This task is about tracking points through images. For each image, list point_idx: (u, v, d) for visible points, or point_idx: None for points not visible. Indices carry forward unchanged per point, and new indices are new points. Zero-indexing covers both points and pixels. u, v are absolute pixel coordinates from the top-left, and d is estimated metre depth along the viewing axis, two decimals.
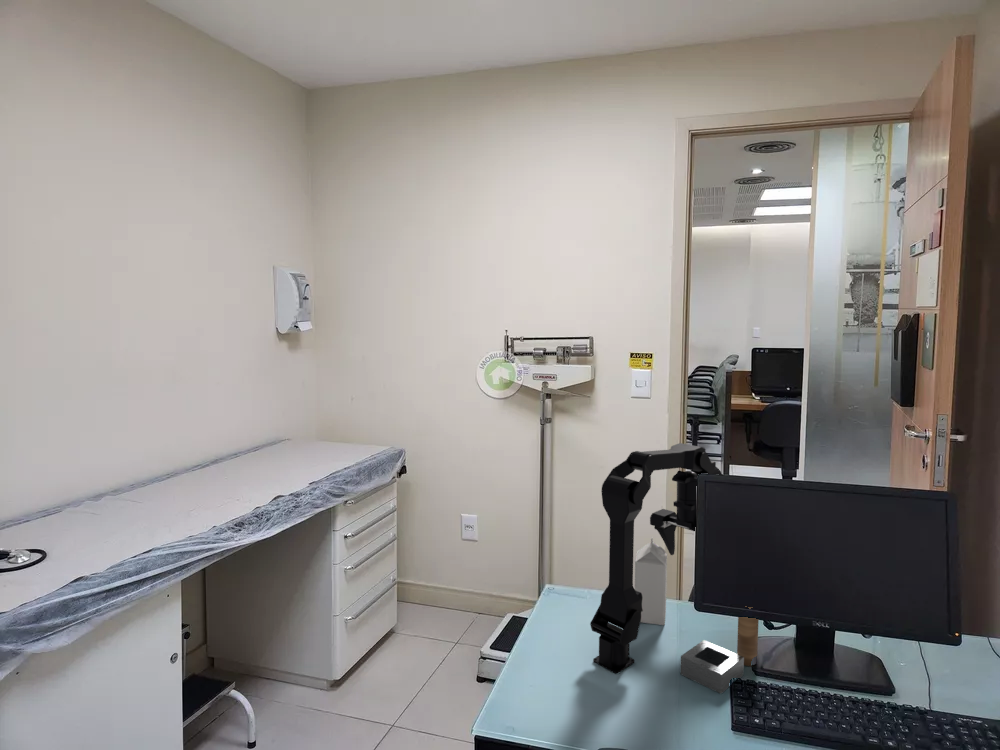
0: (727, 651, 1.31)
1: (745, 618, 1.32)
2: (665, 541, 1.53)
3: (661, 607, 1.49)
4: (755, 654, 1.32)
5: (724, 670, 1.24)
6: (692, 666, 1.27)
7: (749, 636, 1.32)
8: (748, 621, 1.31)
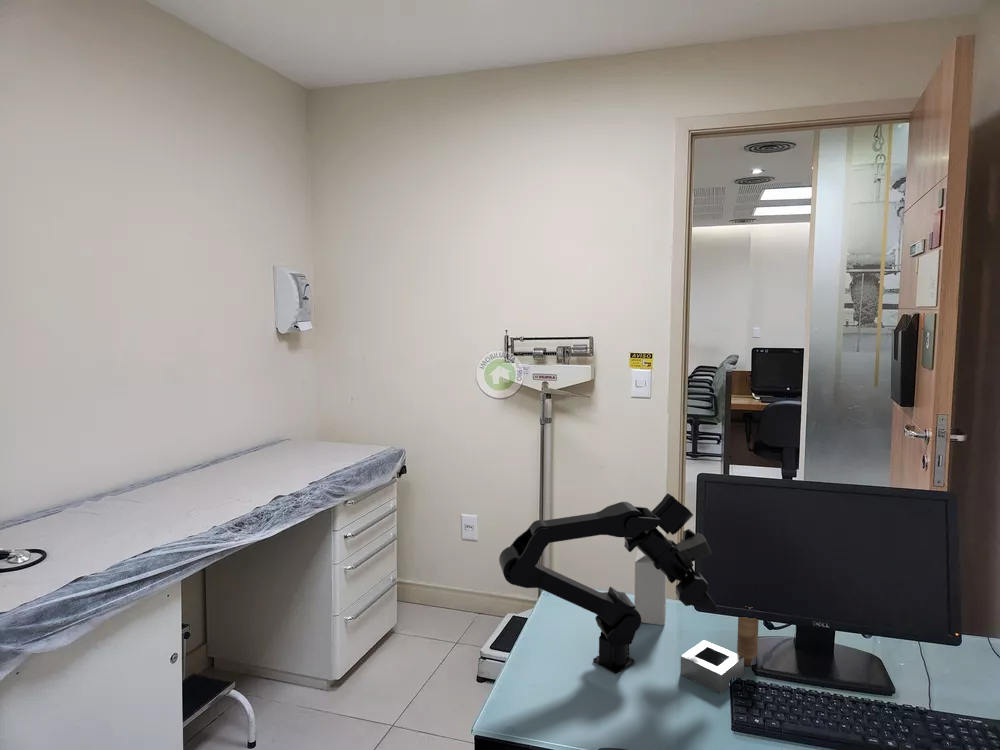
0: (727, 651, 1.31)
1: (745, 618, 1.32)
2: None
3: (661, 607, 1.49)
4: (755, 654, 1.32)
5: (724, 670, 1.24)
6: (692, 666, 1.27)
7: (749, 636, 1.32)
8: (748, 621, 1.31)
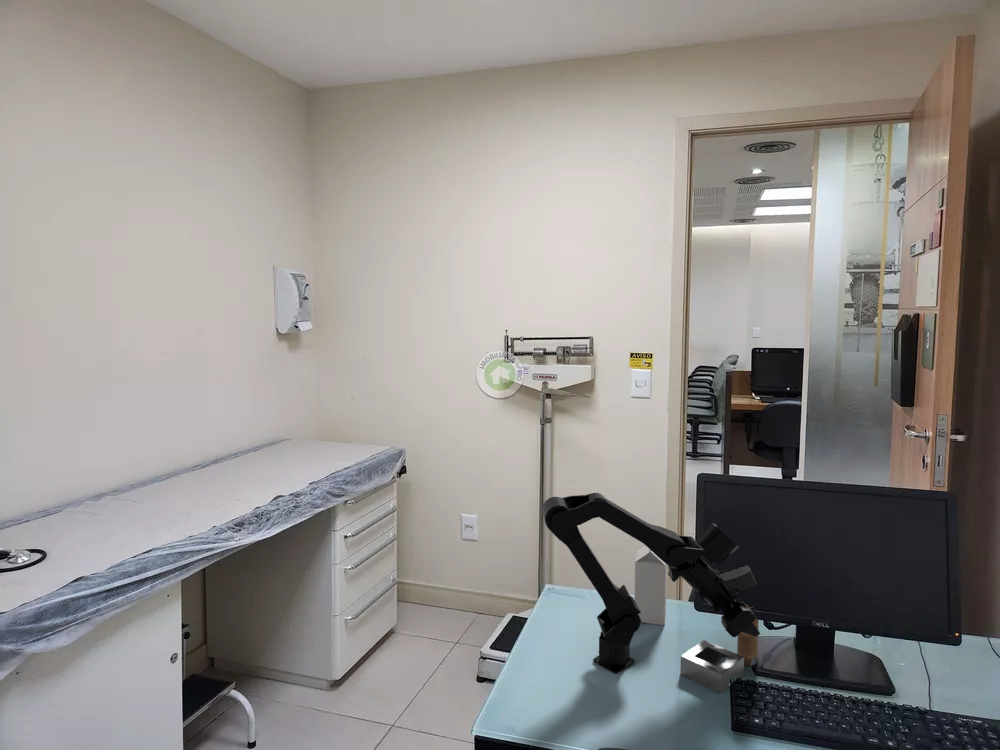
0: (727, 651, 1.31)
1: None
2: None
3: (661, 607, 1.49)
4: (755, 654, 1.32)
5: (724, 670, 1.24)
6: (692, 666, 1.27)
7: (749, 636, 1.32)
8: None
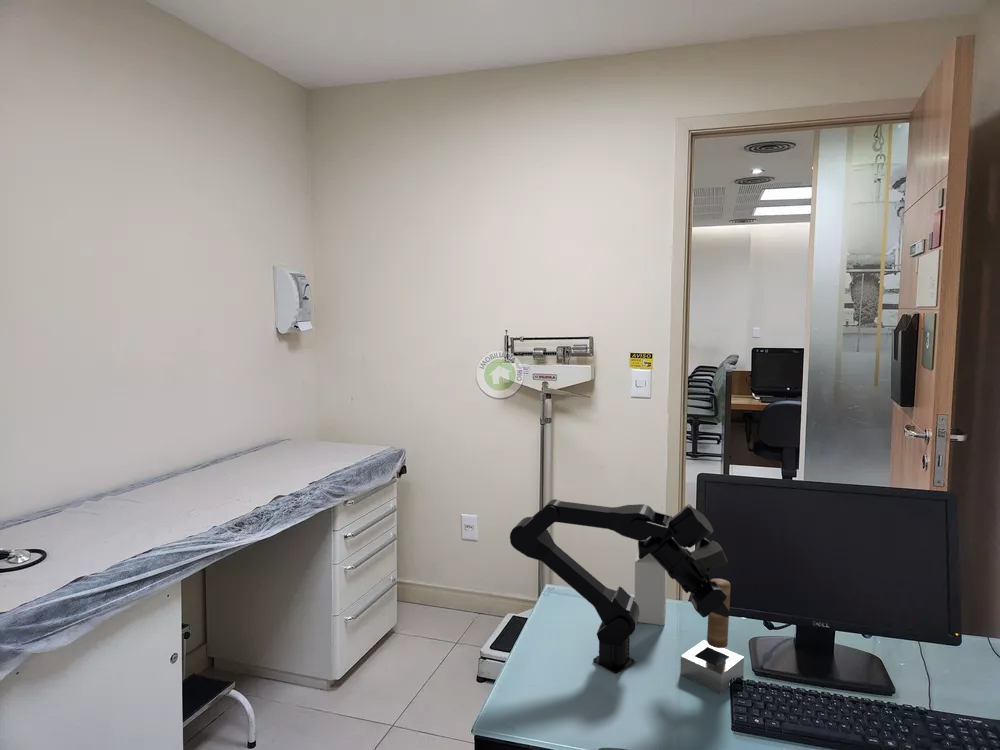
0: (727, 651, 1.31)
1: None
2: None
3: (661, 607, 1.49)
4: (726, 636, 1.28)
5: (724, 670, 1.24)
6: (692, 666, 1.27)
7: (719, 617, 1.27)
8: None
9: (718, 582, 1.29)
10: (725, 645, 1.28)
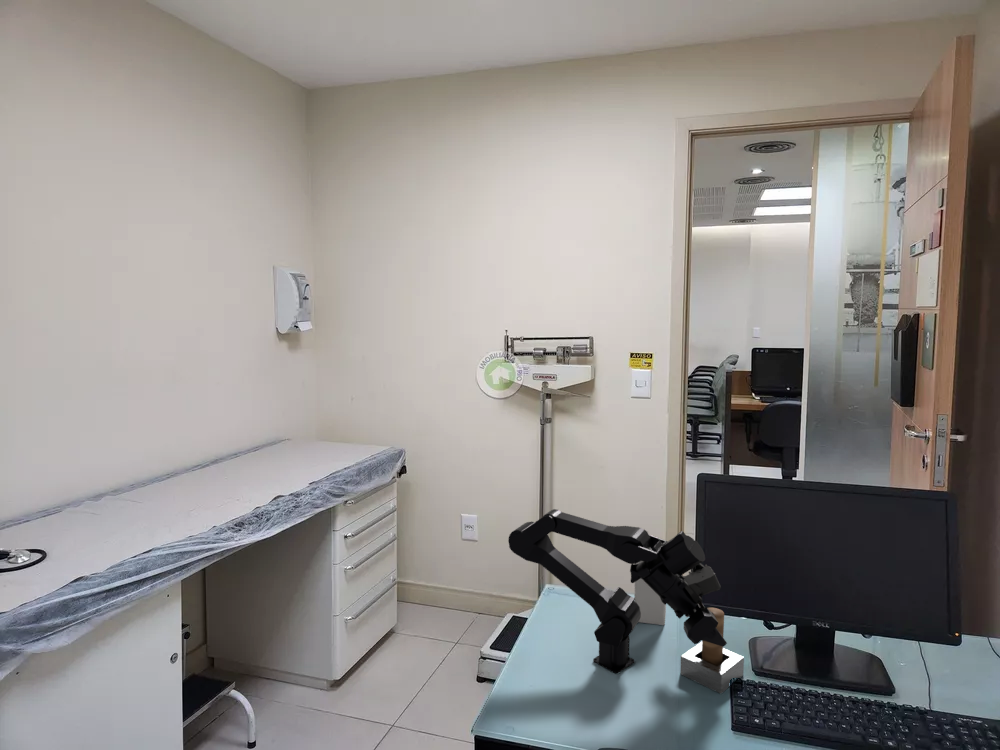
0: (727, 651, 1.31)
1: None
2: None
3: (661, 607, 1.49)
4: None
5: (724, 670, 1.24)
6: (692, 666, 1.27)
7: (713, 647, 1.27)
8: None
9: (712, 611, 1.28)
10: None
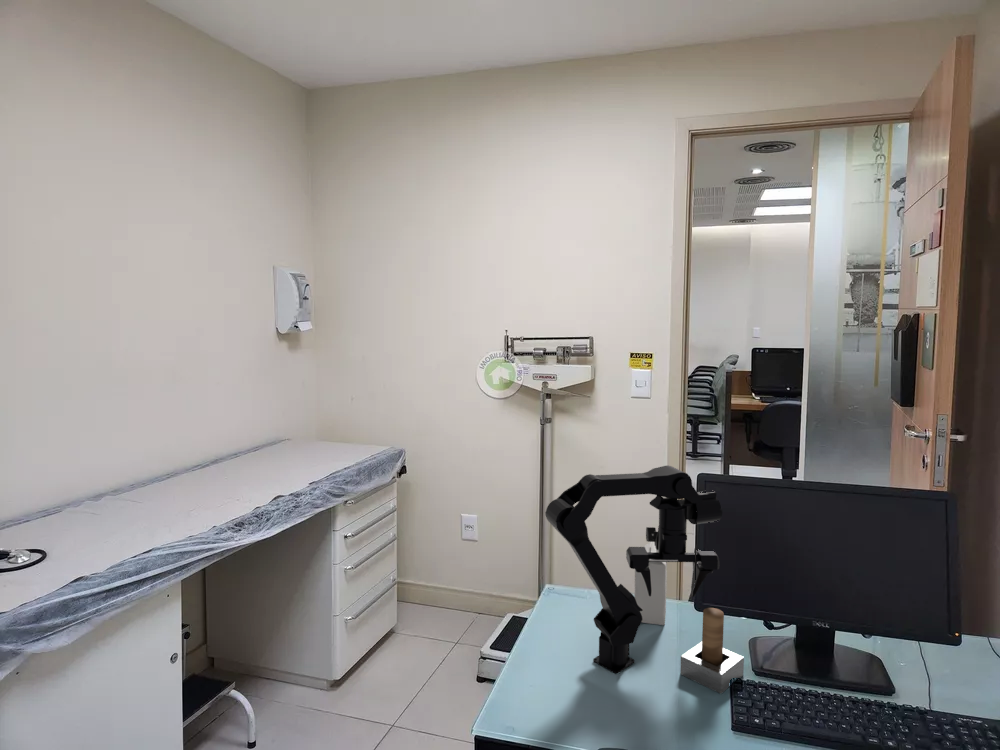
0: (727, 651, 1.31)
1: (708, 629, 1.27)
2: (648, 582, 1.34)
3: (661, 607, 1.49)
4: None
5: (724, 670, 1.24)
6: (692, 666, 1.27)
7: (712, 647, 1.27)
8: (712, 631, 1.26)
9: (711, 612, 1.28)
10: None
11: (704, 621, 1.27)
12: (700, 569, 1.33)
